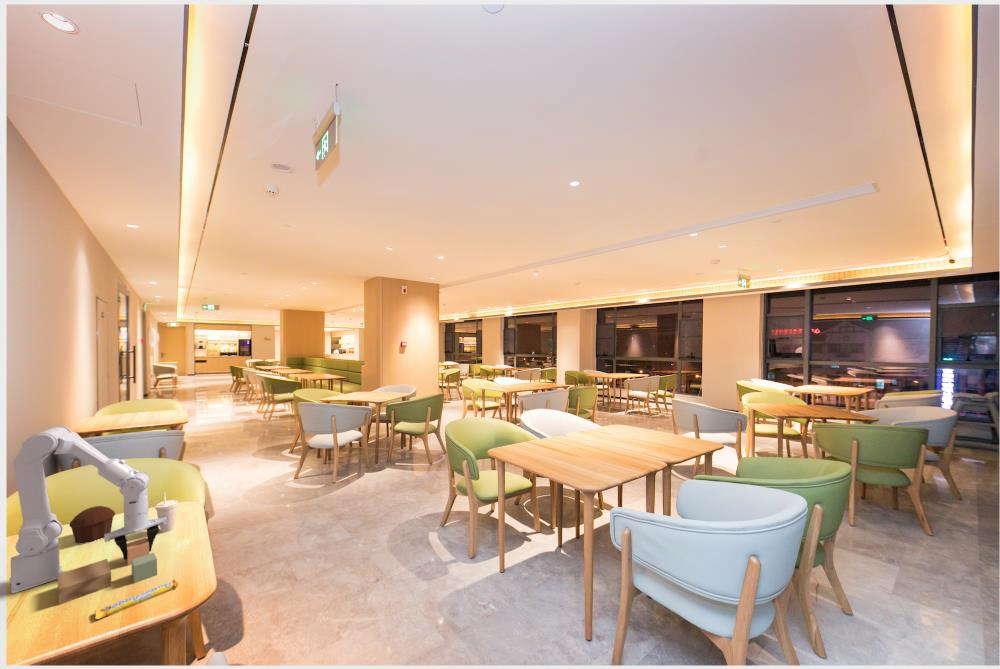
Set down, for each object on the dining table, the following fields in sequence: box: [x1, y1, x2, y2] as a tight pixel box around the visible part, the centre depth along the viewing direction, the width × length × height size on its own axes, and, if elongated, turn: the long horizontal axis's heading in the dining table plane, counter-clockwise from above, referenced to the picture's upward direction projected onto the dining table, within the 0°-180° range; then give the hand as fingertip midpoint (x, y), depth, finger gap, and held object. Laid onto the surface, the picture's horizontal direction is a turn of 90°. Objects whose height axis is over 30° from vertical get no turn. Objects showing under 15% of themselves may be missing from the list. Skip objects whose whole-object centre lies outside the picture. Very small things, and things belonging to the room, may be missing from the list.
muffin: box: [69, 505, 116, 544], centre depth 140 cm, size 12×11×10 cm
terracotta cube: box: [125, 537, 150, 566], centre depth 126 cm, size 5×5×5 cm
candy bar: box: [94, 579, 180, 620], centre depth 107 cm, size 17×4×2 cm, turn 140°
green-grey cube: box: [131, 552, 158, 584], centre depth 118 cm, size 5×5×5 cm
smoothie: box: [154, 491, 179, 533], centre depth 144 cm, size 6×6×14 cm
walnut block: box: [57, 558, 112, 605], centre depth 112 cm, size 10×10×4 cm
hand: (137, 554), depth 126 cm, fingers closed on terracotta cube, 5 cm apart
